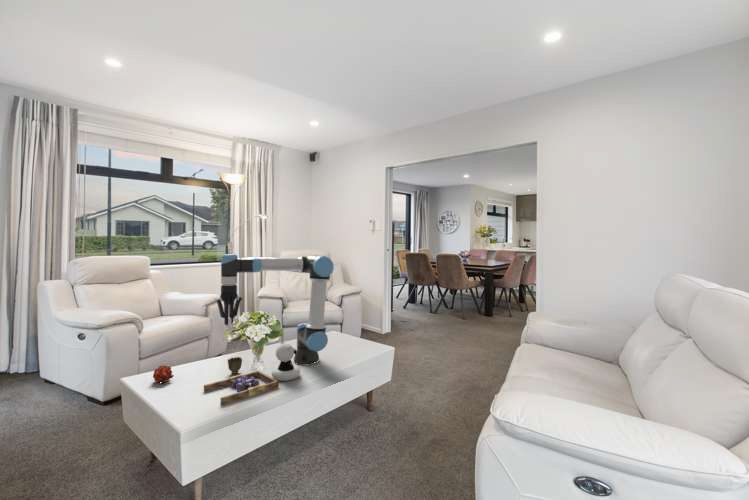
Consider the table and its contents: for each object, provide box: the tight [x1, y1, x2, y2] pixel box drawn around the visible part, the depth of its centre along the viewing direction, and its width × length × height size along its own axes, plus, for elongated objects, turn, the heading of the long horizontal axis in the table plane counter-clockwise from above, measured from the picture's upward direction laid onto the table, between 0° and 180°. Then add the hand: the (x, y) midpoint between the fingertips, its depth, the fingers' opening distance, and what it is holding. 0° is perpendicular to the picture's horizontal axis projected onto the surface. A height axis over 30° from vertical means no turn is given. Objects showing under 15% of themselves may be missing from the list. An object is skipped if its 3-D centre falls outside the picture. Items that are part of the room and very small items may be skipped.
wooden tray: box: [203, 370, 280, 406], centre depth 170 cm, size 28×20×3 cm
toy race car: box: [229, 376, 260, 393], centre depth 172 cm, size 10×15×6 cm, turn 46°
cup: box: [227, 356, 243, 375], centre depth 191 cm, size 8×7×8 cm
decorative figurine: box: [271, 338, 301, 382], centre depth 187 cm, size 15×15×20 cm
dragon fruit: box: [152, 365, 174, 385], centre depth 178 cm, size 8×8×12 cm
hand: (228, 330), depth 178 cm, fingers closed
